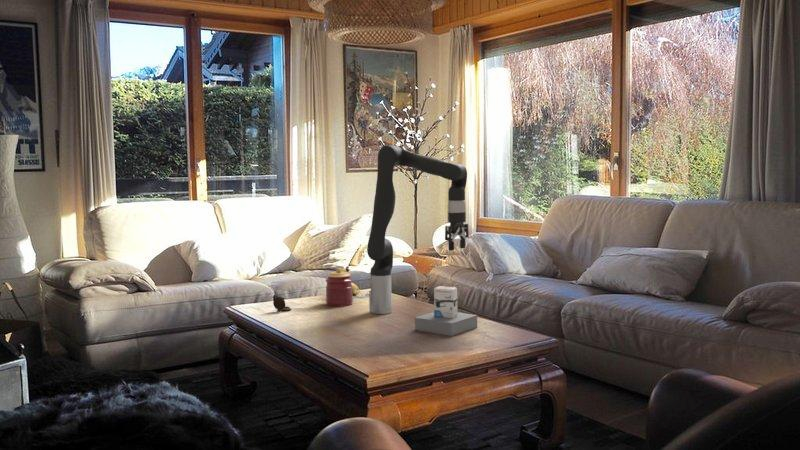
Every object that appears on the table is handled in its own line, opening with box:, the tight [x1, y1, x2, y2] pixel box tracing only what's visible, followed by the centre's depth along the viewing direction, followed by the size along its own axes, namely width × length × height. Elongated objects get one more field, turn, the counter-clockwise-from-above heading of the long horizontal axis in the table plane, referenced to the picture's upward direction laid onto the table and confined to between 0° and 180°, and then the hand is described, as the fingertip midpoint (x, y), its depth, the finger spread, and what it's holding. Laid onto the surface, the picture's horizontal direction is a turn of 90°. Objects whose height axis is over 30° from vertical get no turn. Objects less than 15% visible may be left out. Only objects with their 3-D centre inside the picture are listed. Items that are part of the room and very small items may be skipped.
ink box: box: [433, 285, 458, 318], centre depth 281 cm, size 8×5×12 cm, turn 65°
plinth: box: [414, 311, 478, 337], centre depth 281 cm, size 18×18×5 cm
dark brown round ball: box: [272, 296, 292, 313], centre depth 322 cm, size 8×8×7 cm
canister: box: [325, 267, 354, 307], centre depth 335 cm, size 13×13×18 cm
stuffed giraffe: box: [341, 265, 369, 299], centre depth 357 cm, size 16×18×16 cm
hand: (457, 249), depth 296 cm, fingers open, 8 cm apart
